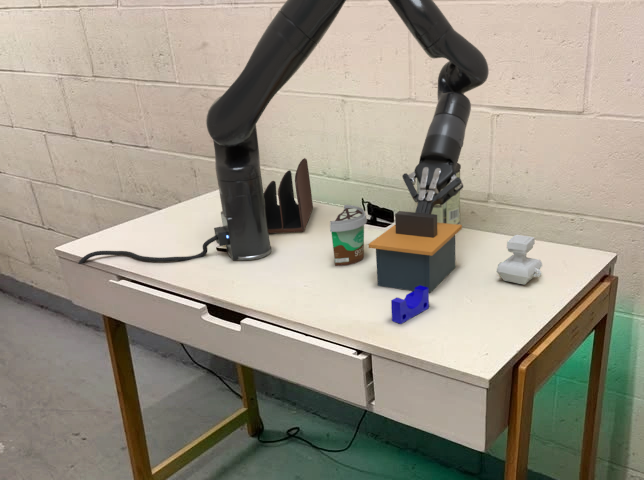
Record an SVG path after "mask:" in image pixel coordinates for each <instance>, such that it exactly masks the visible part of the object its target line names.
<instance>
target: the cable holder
mask: <svg viewBox="0 0 644 480" xmlns="http://www.w3.org/2000/svg"><path fill="white" fill-rule="evenodd" d="M429 294H430V293H429V288H428V287H424V286H421V285H419V286H417V287H415V290H414V291H411V292H409V293H407V294H406V295H405V297H404V298H400V297H397V296H396V297H394V298H393V299H391V300H390V304H391V322H393V323H397V324H400V325H402V324H404V323H405V322H408V321H409V320H411V319H412V318H414V317H417V315H420V314H421V313H423V312H425V311H427V310H429V308H430V297H429Z"/></svg>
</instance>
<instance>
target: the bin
mask: <svg viewBox="0 0 644 480" xmlns="http://www.w3.org/2000/svg"><path fill="white" fill-rule="evenodd" d="M375 260H376V279H377V281H376V283H377V286H378V287H384V288H391V289H398V290H405V291H411V292H412V291H414V290H415V287H417V286H419V285H421V286H424V287H428V288H429V294H431V293H432V292H433V290H435V288H437V287H438V286H439V285H440V284H441V282H443V280H445V278H446V277H448V275H449V274H450V273H451V272H453V270H454V269H455V268H456V234H455V235H454V236H453V237H452V238H451V239H450V240H449V241H448V242H447V243H446V244H444V245H443V246H442V247H441V248H440V249H439V250H438V251H437V252H436V253H435V254H433V255H432V256H430V255H422V254H414V253H406V252H398V251H390V250H382V249H375Z"/></svg>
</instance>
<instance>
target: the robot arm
mask: <svg viewBox="0 0 644 480" xmlns="http://www.w3.org/2000/svg"><path fill="white" fill-rule="evenodd" d="M346 1H347V0H286V1H285V2H284V4H283V5H282V6H281V7H280V9H279V10H278V11H277V13H276V14H275V16H274V17H273V18H272V20H271V21H270V22H269V24H268V26H267V27H266V29H265V30H264V32H262V33H263V34H262V35H261V37H260V39H259V41H257V43H256V46H255V47H254V49H253V51H252V53H251V55H250V57H249V58H248V61H247V63H246V64H245V66H244V68H243V70H242V71H241V72H240V74H239V75H238V77H237V78H236V79H235V81H233V83H232V84H231V85H230V86H229V88H228V89H226V91H225V92H224V93H223V94H222V95H221V96H219V97H217V98H216V99H215V100H214V101H213V102H212V103H211V105H210V106H209V108H208V110H207V113H206V118H205V119H206V120H205V124H206V129H207V132H208V135H209V136H210V138H211V140H212V142H213V148H214V161H215V162H214V163H215V164H214V165H215V166H214V167H215V168H214V169H215V173H216V175H215V176H216V179H217V185H218V193H219V198H220V199H219V200H220V204H221V211H220V217H221V218H220V219H221V224H222V226H217V227H213V230H214V235H213V236H212V237H210V238H208V239H207V240H205V241H204V243H203V244H202V251H201V252H200V253H197V254H195V255H188V256H167V257H165V256H164V257H163V256H162V257H155V256H144V255H140V254H137V253H135V252H131V251H126V250H96V251H92V252H90V253H87V254H86V255H84V256H83V257H81V259H80V260H79V261H78V263H77V264H78V265H82V264H85V263H86V261H88V260H90V258H93V257H97V256H127V257H131V258H133V259H135V260H139V261H142V262H143V261H144V262H154V263H170V262H186V261H191V260H194V259H200V258H203V257H205V256H206V255H207V253H208V247H209V245H210V244H212V243H214V242H216V243H217V244H218V245H219V247H225V249H226V253H227V255H228V257H230V259H231V260H232V261H233V262H235V261H252V260H259V259H262V258H264V257H267V256H268V255H270V254H271V253H272V246H271V240H270V238H271V237H270V233H269V231H268V223H267V216H266V208H265V200H264V186H263V177H262V171H261V170H262V169H261V156H260V155H261V154H260V148H259V147H260V146H259V140H258V139H259V138H258V131H257V123H258V122H259V120H260V118H261V117H262V115H263V113H264V112H265V110H266V109H267V107H268V105H269V104H270V102H271V101H272V100H273V98H274V97H275V96H276V95H277V93H278V92H279V91H280V90H281V89H282V88H283V87H284V86H285V85H286V84H287V83H288V81H290V79H291V78H293V76H294V75H295V74H296V73H297V72H298V71H299V69H300V68H301V67H302V66H303V65H304V63H305V62H306V61H307V60H308V58H309V57H310V56H311V54H312V53H313V52H314V50H315V49H316V47H317V46H318V45H319V44H320V42H321V41H322V40H323V38H324V36H325V35H326V33H327V32H328V31H329V29H330V27H331V26H332V25H333V23H334V21H335V19H336V18H337V16H338V15H339V13H340V11H341V10H342V8H343V6H344V5H345V4H346ZM387 1H388V3H389V4H390V5H391V7H392V9H393V10H394V12H395V13H396V14H397V15H398V17H399V18H400V20H401V21H402V22H403V24H404V26H405V27H406V28H407V30H408V31H409V33H410V34H411V35H412V37H413V38H414V40H415V41H416V42H417V43H418V45H419V46H420V48H421V49H422V50H423V52H424V53H425V54H426V55H427V56H428V57H430V58H431V59H433V60H434V59H446V60H448V61H447V62H446V63H444V65H443V66H442V68H441V69H440V71H439V73H438V77H437V92H436V95H437V104H436V107H435V110H434V113H433V117H432V120H431V122H430V124H429V127H428V129H427V133H426V135H425V139H424V143H423V146H422V149H421V153H420V156H419V160H418V164H417V165H416V166H415V168H414V171H413V172H410V173H409V174H408V173H403V174H402V176H401V177H402V179H403V181H404V184H405V186H406V188H407V190H408V192H409V194H410V196H411V198H412V199H413V201H414V203H415V204H417V203H418V204H417V205H416V209H415V211H414V212H415V213H425V214H432V210H433V207H434V206H435V205H437V204H440V205H443V204H444V203H445V202H447V201H448V200H449V199H450V198H451V197H453V196H454V195H455V194H456V193H457V192H459V191H460V192H461V191H462V189H463V188H464V183H463V181H462V178H461V177H460V178H459V177H456V172H455V169H456V166H457V163H459V159H460V155H461V152H462V149H463V147H464V141H465V136H466V129H467V126H468V122H469V119H470V115H471V110H472V102H471V101H470V98H469V97H468V96H467V95H465V93H467V92H470V91H471V90H474V89H476V88H478V87H481V86H482V85H483V84H485V83H486V81H487V80H488V78H489V74H490V72H489V71H490V69H489V64H488V61H487V59H486V57H485V55H484V54H483V52H482V51H480V50H479V49H478V47H476V46H475V45H474V44H473V43H471V42H470V41H469V40H468V39H467V38H465V37H464V36H463V35H462V34H461V33H459V32H457V31H456V29H454V27H453V26H452V24H451V23H450V21H449V20H448V18H447V17H446V16H445V14H444V13H443V12H442V10H441V9H440V7H439V6H438V5H437V3H436V2H435V1H434V0H387ZM417 179H418V181H419V183H420V193H419V194H418V193H417V188H416V187H415V185H416V184H417ZM444 187H445V188H444ZM443 188H444V189H443Z"/></svg>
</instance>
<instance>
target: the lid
mask: <svg viewBox="0 0 644 480" xmlns="http://www.w3.org/2000/svg"><path fill="white" fill-rule="evenodd" d="M394 221H395V223H394V225H392V226H391V227H390V228H388V229H387V230H386V231H384V232H383V233H381V234H380V235H379V236H377V237H376V238H375V239H374V240H372V241H371V242H369V243H368V249H374V250H376V249H382V250H390V251H398V252H406V253H414V254H422V255H430V256H432V255H433V254H435V253H436V252H437V251H438V250H439V249H440V248H441V247H442V246H443V245H444V244H446V243H447V242H448V241H449V240H450V239H451V238H452V237H453V236H454V235H455V236H456V235H457V234H458V233H459V232H460V231H461V230H462V229H463V224H460V225H457V224H447V223H437V215H435V214H425V213H415V211H414V212H413V211H406V210H405V211H404V210H399V211H397V212H395V214H394Z"/></svg>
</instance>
